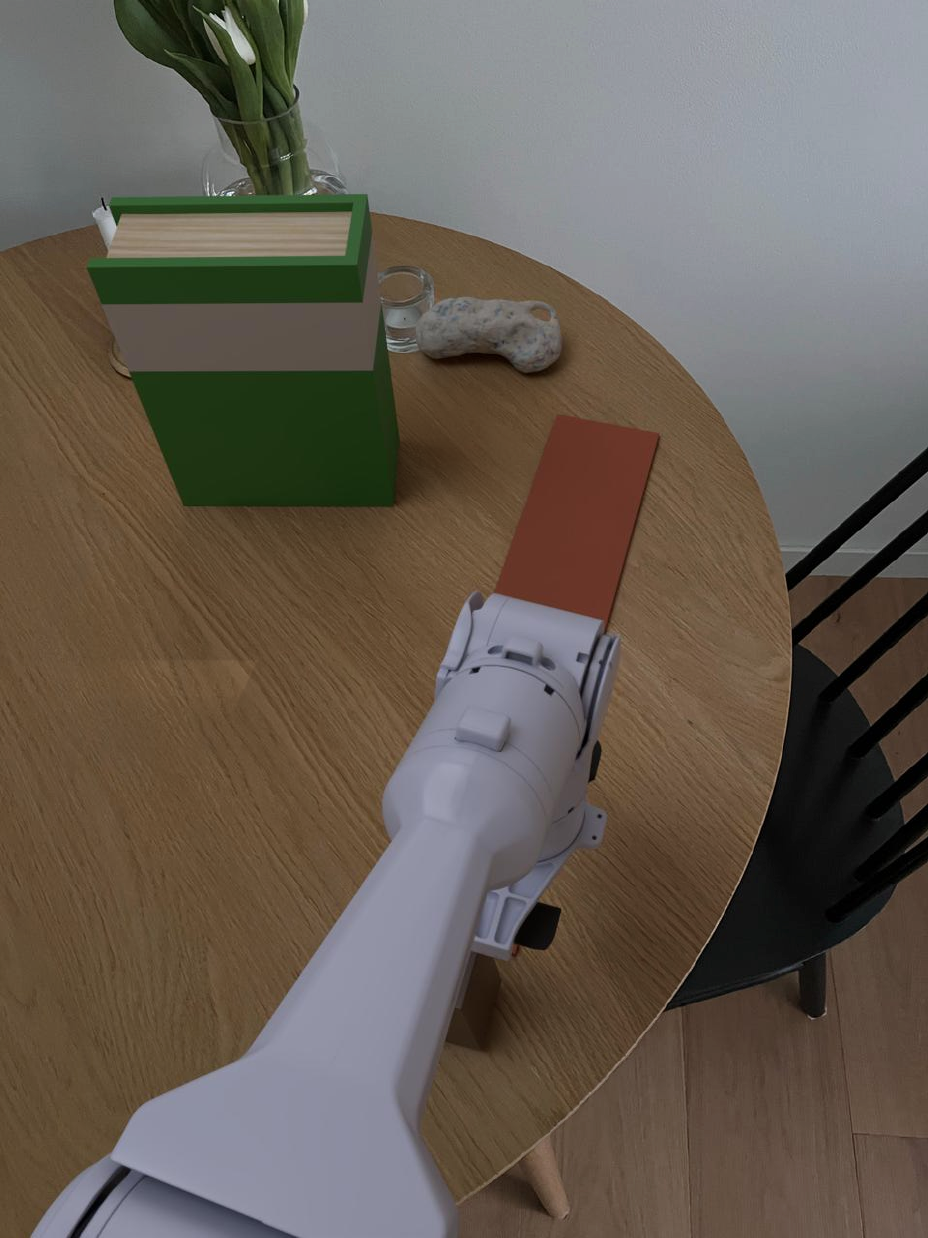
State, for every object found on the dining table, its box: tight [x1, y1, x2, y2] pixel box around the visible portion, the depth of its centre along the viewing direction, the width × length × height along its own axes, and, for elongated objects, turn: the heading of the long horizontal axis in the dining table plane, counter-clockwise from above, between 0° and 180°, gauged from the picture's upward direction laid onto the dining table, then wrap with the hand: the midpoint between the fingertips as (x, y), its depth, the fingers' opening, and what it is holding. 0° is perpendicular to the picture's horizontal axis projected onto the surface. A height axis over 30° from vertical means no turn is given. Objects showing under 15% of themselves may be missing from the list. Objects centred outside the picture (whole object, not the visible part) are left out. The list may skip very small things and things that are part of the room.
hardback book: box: [86, 193, 401, 507], centre depth 80 cm, size 18×7×24 cm, turn 88°
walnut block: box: [445, 951, 503, 1052], centre depth 62 cm, size 4×4×8 cm
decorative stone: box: [414, 296, 563, 374], centre depth 95 cm, size 13×7×5 cm, turn 89°
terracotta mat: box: [493, 413, 660, 956], centre depth 79 cm, size 46×9×1 cm, turn 163°
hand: (526, 872), depth 62 cm, fingers open, 7 cm apart
